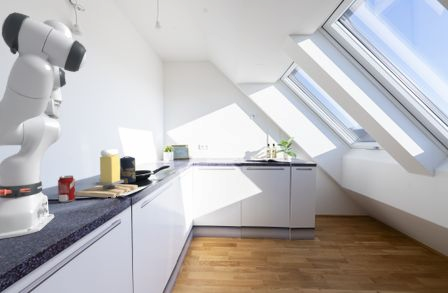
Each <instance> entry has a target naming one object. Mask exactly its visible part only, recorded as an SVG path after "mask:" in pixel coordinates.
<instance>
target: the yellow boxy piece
mask: <svg viewBox="0 0 448 293" xmlns="http://www.w3.org/2000/svg"><path fill="white" fill-rule="evenodd" d="M100 155H101V156H99V168H100V170H99V172H100V178H99V179H98V181H97V182H96V183H95V184H96V186H99V185H109V186H113V185H116V184H124V183H123V182H124V180H120V155H119V150H118V149H116V148H113V149H102V150H101V151H100Z"/></svg>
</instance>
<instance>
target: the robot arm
mask: <svg viewBox="0 0 448 293" xmlns="http://www.w3.org/2000/svg"><path fill="white" fill-rule="evenodd" d="M1 37H2V39H3V41H4V43H5V45H6V46H7V47H8V48H9V51H10V53H12V54H13V55H16V54H17V53H18V56H17V58H16V59H15V61H14V62H13V64H12V67H11V69H10V72H9V74H8V78H7V82H6V85H5V86H6V87H5V91H4V94H3V95H2V98H1V100H0V147H1V146H20V149H19V151H18V152H17V153H15V154H12V155H10V156H8V157H6V158H4V159H3V160H2V161H1V162H0V240H2V239H9V238H14V237H19V236H20V237H21V236H25V235H30V234H34V233H36V232H39V231H41V230H42V229H43V228H44V227H45V226H46V225H48V224H49V223H50V222H51V221H52V220H53V219H54V218H55V215H54V213H49V201H48V200H49V199H48V196H47V195H46V194H44V193H43V182H42V181H41V167H42V166H41V163H42V159H43V156H44V154H45V152H46V151H47V150H48V148H50V147H51V146H52V145H53V144H55V143H56V142H58V140H60V137H61V135H62V126H61V124H60V122H59V121H58V120H57V119H60V116H61V109H60V108H61V106H60V105H61V104H62V102H63V94H62V89H61V88H63V87H65V85H66V84H67V81H66V72H67V71H68V72H71V73H72V72H73V73H75V72H78V71H80V70H81V69H82V68H83V67H85V66H84V65H85V64H86V62H87V55H88V54H87V49H86V47H85V46H84V44H82V43H81V42H79V40H76V39H73V34H72V32H71V30H70V29H69V27H68V26H67V25H65V24H64V23H63V22H61V21H58V20H55V19H48V20H44V21H43V22H41V21H39V20H37V19H34V18H31V17H30V16H29V15H26V14H23V13H21V12H15V11H14V12H12V13H9V14H8V15H7V16H6V17H5V18H4V20H3V21H2V24H1ZM63 69H64V70H63ZM65 71H66V72H65ZM42 114H44V115H45V116H43V115H42Z"/></svg>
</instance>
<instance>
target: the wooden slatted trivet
mask: <svg viewBox="0 0 448 293" xmlns="http://www.w3.org/2000/svg"><path fill="white" fill-rule="evenodd" d="M138 187H139V186H138V185H137V184H124V183H120V184H116V185H113V186H109V185H96V186H93V187H90V188H85V189H82V190H79V191H75V196H76V197H92V198H93V197H94V198H108V197H111V198H112V199H115V198H117V197H119V196H118V195H120V194H122V195H124V194H123V193H125V192H127V193H129V192H128V191H130V192H132V191H135V190H137V188H138ZM134 189H135V190H134ZM131 190H132V191H131ZM125 194H126V193H125ZM116 196H117V197H116ZM120 196H121V195H120ZM111 198H110V199H111Z"/></svg>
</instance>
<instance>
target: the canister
mask: <svg viewBox="0 0 448 293" xmlns="http://www.w3.org/2000/svg"><path fill="white" fill-rule="evenodd" d="M136 178H137V177H136V157H134V156H130V155H129V156H128V155H125V156H123V157H121V158H120V180H124V182H123V183H122V184H133V183H135V182H136Z"/></svg>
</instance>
